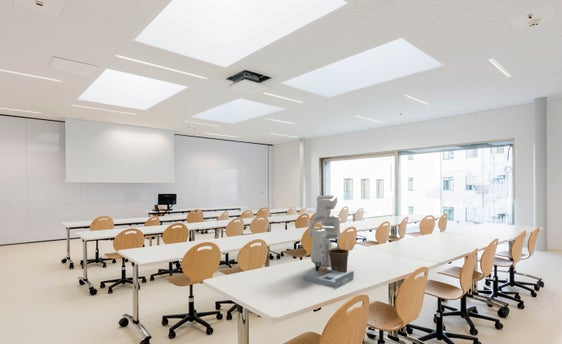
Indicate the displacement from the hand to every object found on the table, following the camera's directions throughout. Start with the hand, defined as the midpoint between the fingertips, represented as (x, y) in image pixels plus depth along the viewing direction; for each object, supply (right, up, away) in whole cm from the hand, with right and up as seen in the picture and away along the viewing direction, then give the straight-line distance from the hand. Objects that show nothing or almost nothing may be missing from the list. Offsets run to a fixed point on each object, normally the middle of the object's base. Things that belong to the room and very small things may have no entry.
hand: (317, 270), depth 231 cm
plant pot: (+18, -5, +14) cm, 23 cm away
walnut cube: (+3, -1, -3) cm, 5 cm away
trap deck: (+7, -4, -6) cm, 10 cm away
